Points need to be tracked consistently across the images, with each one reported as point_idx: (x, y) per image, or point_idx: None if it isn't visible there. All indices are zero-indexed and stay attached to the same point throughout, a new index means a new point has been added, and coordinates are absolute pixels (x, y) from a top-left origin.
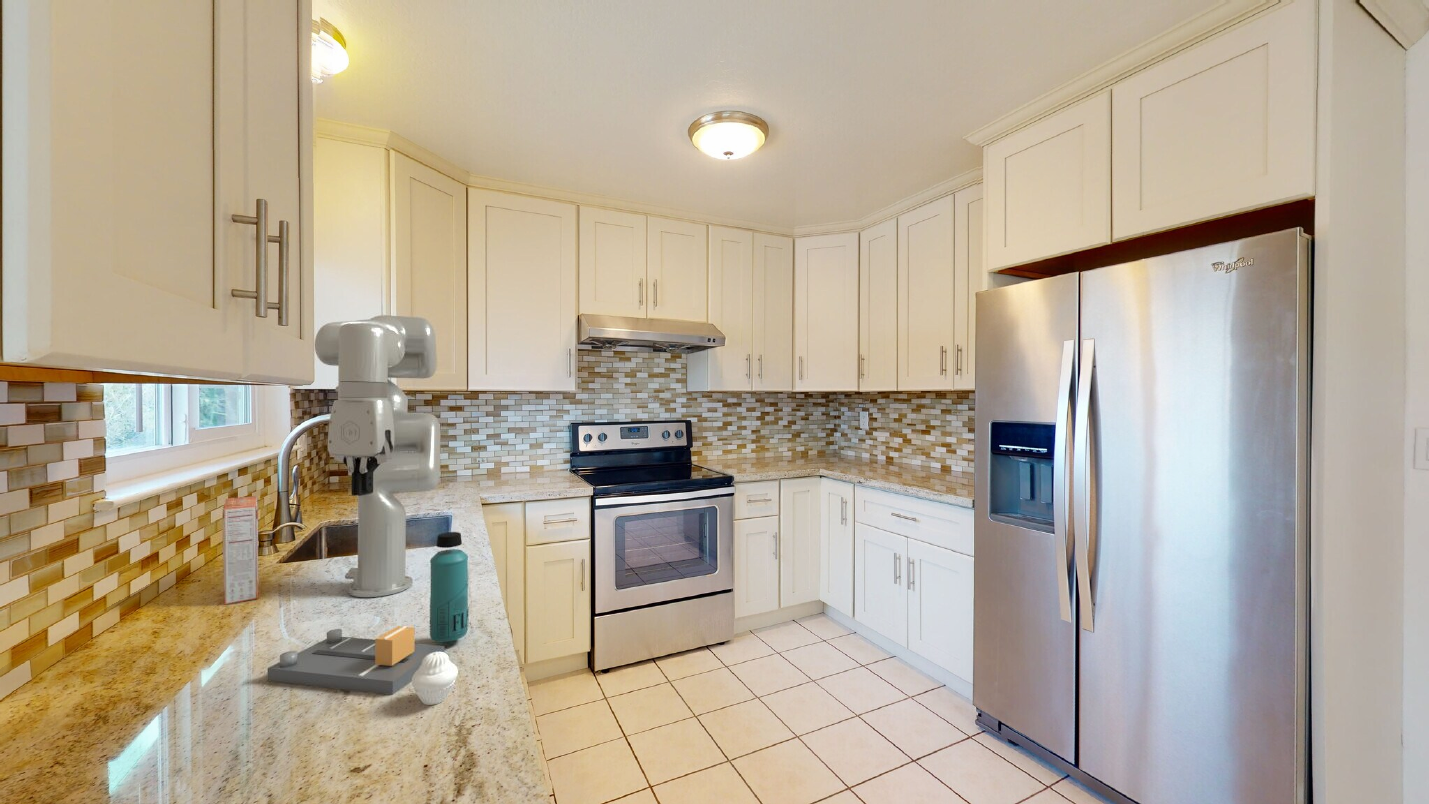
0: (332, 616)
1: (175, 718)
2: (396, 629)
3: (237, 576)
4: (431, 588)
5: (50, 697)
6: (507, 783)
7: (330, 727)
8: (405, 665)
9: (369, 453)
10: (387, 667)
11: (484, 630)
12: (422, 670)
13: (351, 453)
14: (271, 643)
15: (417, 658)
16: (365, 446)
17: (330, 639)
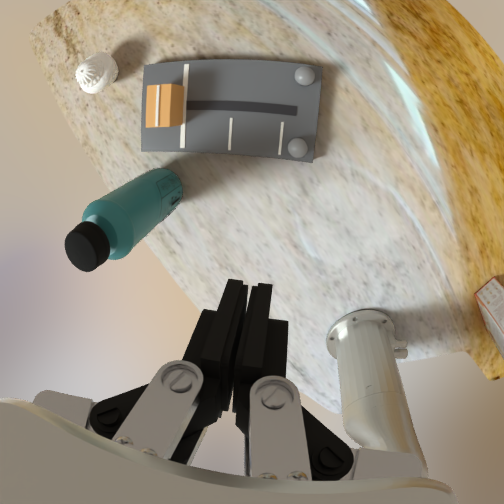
0: (375, 254)
1: (346, 3)
2: (164, 116)
3: (500, 300)
4: (142, 192)
5: (490, 66)
6: (37, 28)
7: (172, 10)
8: None
9: (11, 410)
10: None
11: None
12: (93, 58)
13: (172, 485)
14: (398, 171)
15: None
16: (11, 472)
17: (296, 138)
